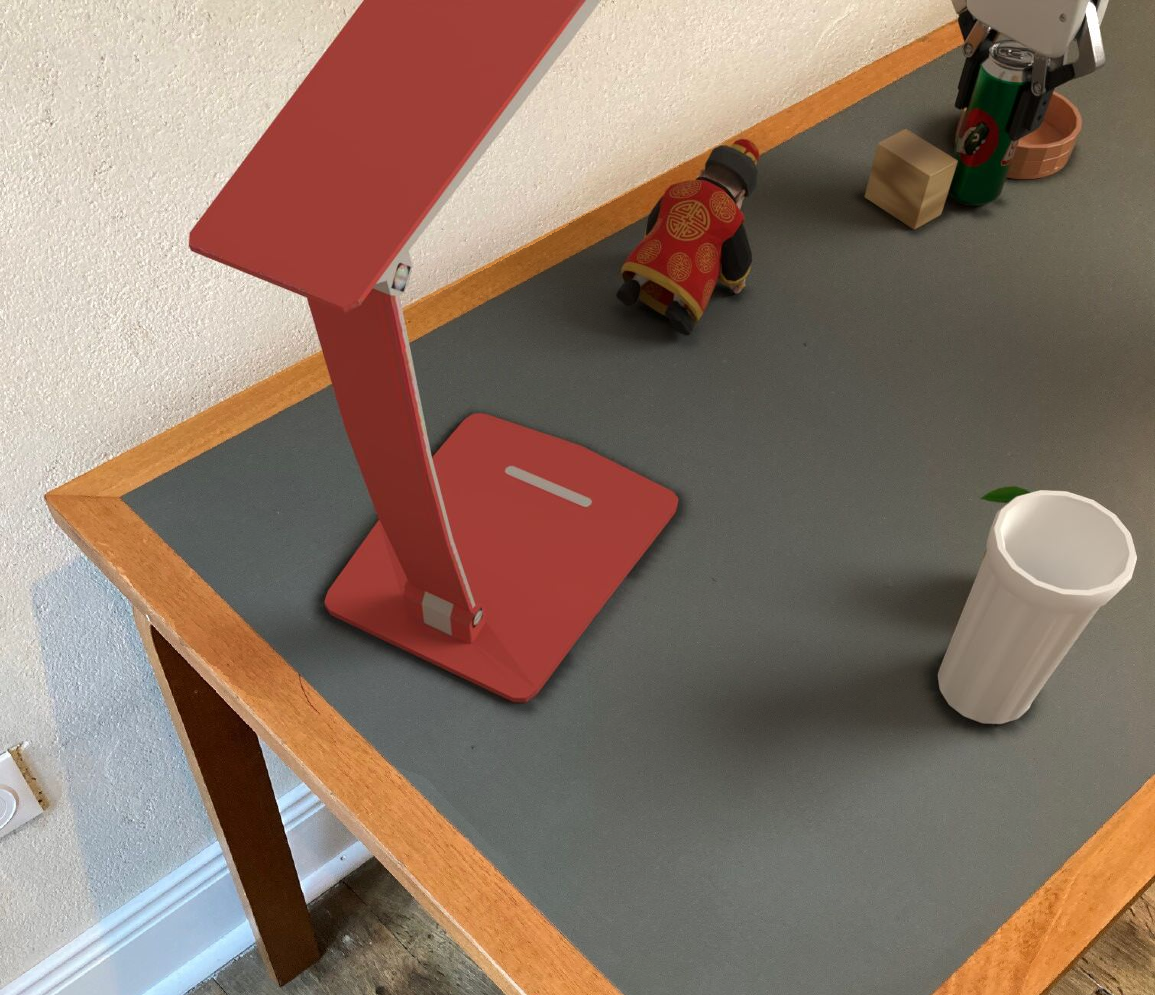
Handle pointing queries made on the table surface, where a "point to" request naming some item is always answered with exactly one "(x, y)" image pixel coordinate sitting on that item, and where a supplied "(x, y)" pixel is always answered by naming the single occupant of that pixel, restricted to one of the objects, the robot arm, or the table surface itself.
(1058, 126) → the terracotta bowl
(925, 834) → the table surface
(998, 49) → the soda can
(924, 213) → the wooden block
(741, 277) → the figurine
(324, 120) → the desk lamp
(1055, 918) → the table surface
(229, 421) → the table surface
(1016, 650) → the cup
